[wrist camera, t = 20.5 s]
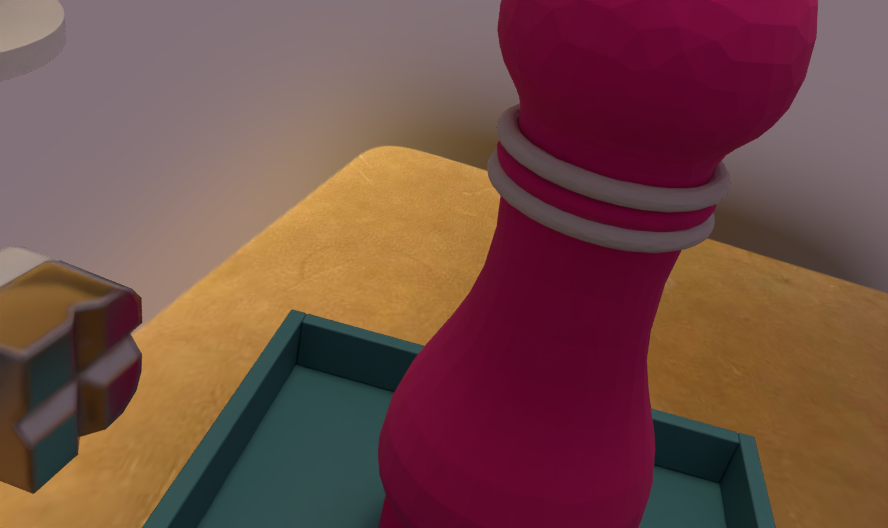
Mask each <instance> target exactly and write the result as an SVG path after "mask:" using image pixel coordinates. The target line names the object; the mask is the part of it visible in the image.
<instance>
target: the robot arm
mask: <svg viewBox="0 0 888 528" xmlns="http://www.w3.org/2000/svg"><path fill="white" fill-rule="evenodd" d="M141 323H142V305H141V297H140V296H139V295H138V294H137V293H136V292H135V291H134V290H133V289H131V288H128V287H126V286H123V285H121V284H118V283H116V282H113V281H111V280H108V279H106V278H103V277H100V276H98V275H96V274H93V273H91V272H88V271H86V270H83V269H81V268H78V267H75V266H73V265H70V264H68V263H65V262H63V261H57V260H55V259H53V258H51V257H48V256H46V255H43V254H41V253H38V252H36V251H33V250H30V249H28V248H25V247H7V248H5V249H3V250H1V251H0V481H2V482H4V483H7V484H10V485H12V486H15V487H17V488H20V489H22V490H25V491H27V492H30V493H32V494H34V493H35V492H36V491H37V490H39V489H40V488H41V487H42V486H43V485H44V484H45V483H46V482H48V481H49V480H50V479H51V478H52V477H53V476H54V475H55V474H56V473H58V472H59V471H60V470H61V469H62V468H63V467H64V466H65V465H67V464H68V463H69V462H70V461H71V460H72V459H73V458H74V457H75V456H77V455H78V449H79V440H80V437H81V436H84V435H88V434H91V433H95V432H98V431H101V430H105V429H106V428H108V427H109V426H110V425H111V424H112V423H113V422H114V421H115V420H116V419H117V418H118V417H119V416H120V415H121V414H122V413H123V412H124V410H125V408H126V407H127V405H128V404H129V402H130V400H131V399H132V397H133V395H134V394H135V392H136V390H137V386H138V382H139V378H140V375H141V366H142V354H141V352H140V350H139V348H138V347H137V345H136V343H135V341H134V339H133V338H132V336H131V333H132V332H133V331H134V330H135V329H136V328H137V327H138V326H139V325H140V324H141Z"/></svg>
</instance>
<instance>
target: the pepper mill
mask: <svg viewBox="0 0 888 528" xmlns="http://www.w3.org/2000/svg"><path fill="white" fill-rule="evenodd" d="M817 11H818V0H502V1H501V4H500V12H499V21H498V37H499V44H500V48H501V52H502V56H503V60H504V63H505V65H506V67H507V69H508V71H509V74H510V76H511V78H512V80H513V82H514V84H515V87H516V89H517V92H518V95H519V99H520V104H517V105H515V106H513V107H510V108H509V109H507V110H506V111H505V112H504V113H502V115H501V116H500V118H499V120H498V124H497V135H498V138H499V142H498V144H497V149H496V150H495V151H494V152H493V153H492V154H491V156H490V158H489V160H488V170H487V171H488V176H489V179H490V181H491V183H492V185H493V186H494V188H495V189H496V190H497V192H498V193H499V194H500V195H501V197H500V205H499V212H498V220H497V227H496V230H495V233H494V236H493V240H492V243H491V246H490V249H489V252H488V256H487V259H486V262H485V265H484V267H483V269H482V271H481V273H480V274H479V276H478V278H477V280H476V282H475V284H474V286H473V287H472V289H471V291H470V293H469V294H468V295H467V297H466V298H465V299H464V301H463V302H462V303H461V304H460V306H459V307H458V308H457V310H456V311H455V312H454V314H453V315H452V316H451V317H450V318H449V319H448V320H447V322H446V323H445V324H444V325H443V326H442V327H441V328H440V329H439V331H438V332H437V333H436V334H435V335H434V336H433V337H432V339H431V340H430V341H429V342H428V343H427V344H426V345H425V347H424V348H423V349H422V350H421V351H420V352H419V354H418V355H417V356H416V358H415V359H414V360H413V362H412V364H411V365H410V367H409V369H408V370H407V372H406V374H405V375H404V377H403V379H402V380H401V382H400V384H399V385H398V387H397V389H396V390H395V392H394V394H393V395H392V398H391V401H390V405H389V408H388V411H387V414H386V417H385V420H384V423H383V426H382V429H381V432H380V435H379V445H378V463H379V475H380V478H381V481H382V484H383V487H384V491H385V494H386V496H385V499H384V503H383V508H382V512H381V517H380V521H379V526H378V528H639V525H640V523H641V520H642V517H643V514H644V511H645V508H646V505H647V502H648V499H649V496H650V492H651V488H652V484H653V473H654V458H655V435H654V427H653V420H652V412H651V405H650V398H649V389H648V373H647V354H648V347H649V340H650V332H651V328H652V325H653V322H654V318H655V315H656V312H657V309H658V305H659V302H660V299H661V295H662V292H663V289H664V286H665V283H666V281H667V279H668V277H669V275H670V273H671V271H672V269H673V267H674V264H675V262H676V260H677V258H678V256H679V254H680V252H681V250H683V249H687V248H690V247H693V246H696V245H697V244H699V243H701V242H703V241H704V240H705V239H706V238H707V237H708V236H709V235H710V234H711V232H712V229H713V227H714V223H715V218H714V211H715V207H716V203H718V202H720V201H721V200H722V199H723V198H724V197H725V196H726V195H727V194H728V191H729V188H730V184H731V181H730V175H729V172H728V170H727V169H726V167H725V165H724V163H723V162H722V159H723V158H724V157H725V156H726V155H727V154H729V153H730V152H732V151H733V150H735V149H737V148H739V147H741V146H743V145H745V144H747V143H749V142H751V141H753V140H755V139H757V138H758V137H760V136H761V135H762V134H763V133H764V132H766V131H767V130H768V129H770V128H771V127H772V126H773V125H774V124H775V123H776V122H777V121H778V120H779V119H780V118H781V117H782V116H783V114H784V113H785V112H786V111H787V110H788V109H789V107H790V105H791V104H792V102H793V100H794V98H795V96H796V94H797V92H798V90H799V89H800V87H801V85H802V83H803V81H804V79H805V77H806V73H807V69H808V66H809V62H810V59H811V55H812V51H813V47H814V44H815V40H816V34H817Z"/></svg>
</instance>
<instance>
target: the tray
mask: <svg viewBox="0 0 888 528" xmlns="http://www.w3.org/2000/svg"><path fill="white" fill-rule="evenodd" d="M424 347H425V346H423V345H419V344H416V343H412V342H408V341H405V340H401V339H397V338H394V337H390V336H387V335H383V334H379V333H376V332H372V331H368V330H365V329H361V328H358V327H354V326H350V325H347V324H343V323H340V322H336V321H332V320H329V319H325V318H321V317H318V316H314V315H311V314H307V315H306V313H303V312H300V311H296V310H291V311H290V313H289V314H288V316H287V317H286V318H285V320H284V321H283V323H282V324H281V326H280V327H279V329H278V330H277V332H276V333H275V334H274V336H273V337H272V339H271V340H270V342H269V343H268V345H267V346H266V348H265V349H264V351H263V352H262V353H261V355H260V356H259V358H258V359H257V361H256V362H255V364H254V365H253V367H252V368H251V369H250V371H249V372H248V374H247V375H246V377H245V378H244V380H243V381H242V383H241V384H240V386H239V387H238V388H237V390H236V391H235V393H234V394H233V396H232V397H231V399H230V400H229V402H228V403H227V404H226V406H225V407H224V409H223V410H222V412H221V413H220V415H219V416H218V418H217V419H216V421H215V422H214V423H213V425H212V426H211V428H210V429H209V431H208V432H207V434H206V435H205V437H204V438H203V439H202V441H201V442H200V444H199V445H198V447H197V448H196V450H195V451H194V453H193V454H192V456H191V457H190V458H189V460H188V461H187V463H186V464H185V466H184V467H183V469H182V470H181V472H180V473H179V474H178V476H177V477H176V479H175V480H174V482H173V483H172V485H171V486H170V488H169V489H168V491H167V492H166V493H165V495H164V496H163V498H162V499H161V501H160V502H159V504H158V505H157V507H156V508H155V509H154V511H153V512H152V514H151V515H150V517H149V518H148V520H147V521H146V523H145V524H144V526H143V527H142V528H378V526H379V521H380V517H381V512H382V508H383V503H384V499H385V496H386V494H385V491H384V487H383V484H382V481H381V478H380V475H379V463H378V445H379V435H380V432H381V429H382V426H383V423H384V420H385V417H386V414H387V411H388V408H389V405H390V401H391V398H392V395H393V394H394V392H395V390H396V389H397V387H398V385H399V384H400V382H401V380H402V379H403V377H404V375H405V374H406V372H407V370H408V369H409V367H410V365H411V364H412V362H413V360H414V359H415V358H416V356H417V355H418V354H419V352H420V351H421V350H422V349H423V348H424ZM651 412H652V420H653V427H654V435H655V458H654V473H653V484H652V488H651V492H650V496H649V499H648V502H647V505H646V508H645V511H644V514H643V517H642V520H641V523H640V525H639V528H776V527H775V523H774V518H773V514H772V510H771V506H770V501H769V497H768V493H767V489H766V484H765V480H764V476H763V472H762V467H761V463H760V459H759V455H758V450H757V446H756V442H755V438H754V437H753V436H749V435H746V434H742V433H737V432H734V431H731V430H727V429H723V428H720V427H716V426H712V425H709V424H705V423H702V422H698V421H694V420H691V419H687V418H684V417H680V416H676V415H673V414H669V413H665V412H662V411H658V410H655V409H651Z"/></svg>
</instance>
